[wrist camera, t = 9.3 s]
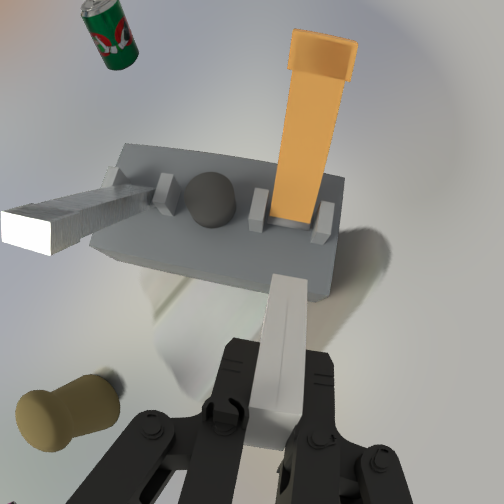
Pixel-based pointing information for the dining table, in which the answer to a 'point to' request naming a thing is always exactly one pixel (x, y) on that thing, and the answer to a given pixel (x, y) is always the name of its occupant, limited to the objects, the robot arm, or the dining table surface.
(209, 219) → the button
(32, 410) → the cork
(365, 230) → the dining table surface
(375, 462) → the robot arm
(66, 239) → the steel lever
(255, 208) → the console
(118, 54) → the soda can
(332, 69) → the orange lever
